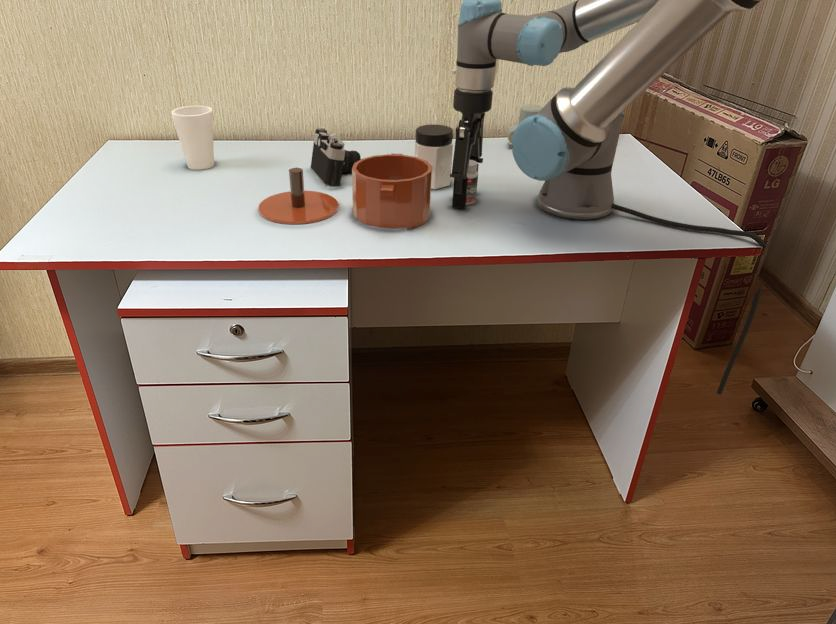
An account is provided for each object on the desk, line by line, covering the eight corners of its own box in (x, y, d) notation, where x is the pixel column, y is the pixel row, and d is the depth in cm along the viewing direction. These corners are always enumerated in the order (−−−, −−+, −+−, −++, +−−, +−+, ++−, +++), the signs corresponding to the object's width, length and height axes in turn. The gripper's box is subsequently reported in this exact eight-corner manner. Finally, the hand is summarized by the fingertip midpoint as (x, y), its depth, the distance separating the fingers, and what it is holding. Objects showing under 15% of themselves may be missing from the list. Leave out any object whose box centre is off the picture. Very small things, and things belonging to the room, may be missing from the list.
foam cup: (226, 166, 155) (218, 112, 148) (190, 174, 151) (180, 118, 143) (211, 156, 162) (202, 103, 154) (176, 163, 157) (165, 109, 150)
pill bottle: (460, 206, 134) (463, 167, 129) (449, 198, 138) (452, 160, 133) (479, 203, 136) (483, 164, 131) (468, 195, 139) (471, 157, 134)
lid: (344, 197, 139) (343, 157, 134) (331, 229, 125) (329, 186, 120) (270, 194, 140) (266, 155, 135) (249, 225, 127) (244, 183, 122)
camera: (366, 189, 146) (374, 146, 141) (321, 187, 142) (328, 142, 136) (346, 169, 157) (353, 128, 152) (304, 166, 153) (309, 123, 148)
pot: (431, 197, 138) (434, 151, 133) (426, 238, 121) (429, 188, 116) (361, 194, 140) (360, 149, 134) (346, 234, 123) (344, 184, 117)
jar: (427, 192, 141) (429, 137, 134) (405, 181, 146) (407, 128, 139) (458, 184, 145) (462, 130, 138) (436, 173, 150) (439, 121, 143)
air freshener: (553, 147, 166) (560, 107, 160) (538, 155, 161) (544, 114, 155) (517, 139, 172) (522, 100, 166) (500, 146, 167) (505, 107, 161)
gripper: (468, 75, 132) (460, 181, 146) (439, 99, 117) (432, 215, 130) (504, 78, 130) (492, 185, 143) (479, 103, 114) (468, 221, 127)
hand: (464, 199), depth 136 cm, fingers open, 8 cm apart
